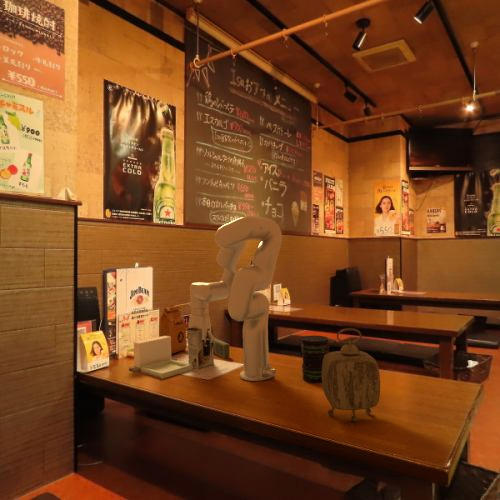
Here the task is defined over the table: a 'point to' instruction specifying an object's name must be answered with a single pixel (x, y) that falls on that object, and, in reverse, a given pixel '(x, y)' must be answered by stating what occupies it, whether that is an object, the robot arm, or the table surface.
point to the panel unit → (151, 352)
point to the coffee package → (173, 328)
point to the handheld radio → (221, 348)
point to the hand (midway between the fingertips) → (200, 354)
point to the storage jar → (313, 357)
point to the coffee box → (198, 349)
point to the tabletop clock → (350, 378)
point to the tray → (166, 368)
